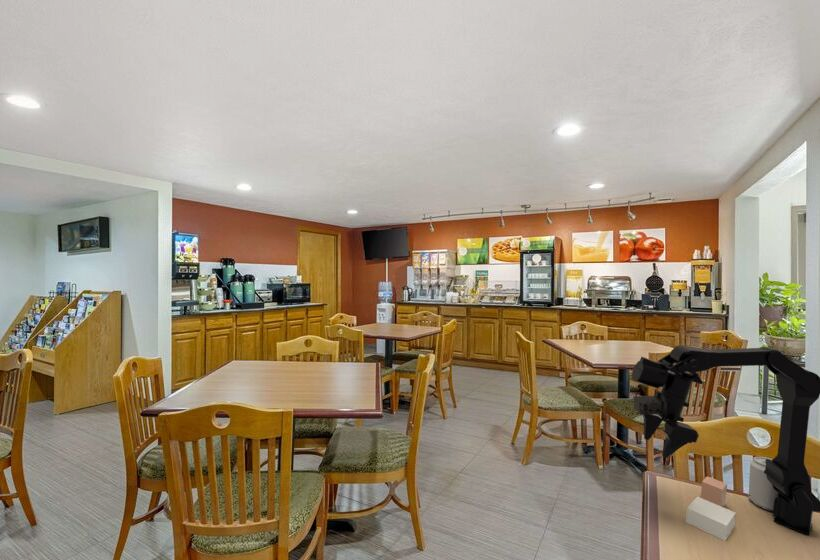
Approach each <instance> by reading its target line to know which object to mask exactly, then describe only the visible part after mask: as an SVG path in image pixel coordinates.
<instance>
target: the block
mask: <svg viewBox="0 0 820 560" xmlns="http://www.w3.org/2000/svg"><path fill="white" fill-rule="evenodd" d="M727 490H728V483H725V482H724V481H721V480H717V479H715V478H713V477H710V476H706V477H705V478H704V479H703V480H702V481H701V490H700V498H702V499H704V500H707V501H709V502H711V503H714V504H716V505H719V506H721V507H723V508H725V506H726V500H727V499H726V498H727Z"/></svg>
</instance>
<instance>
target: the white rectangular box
mask: <svg viewBox="0 0 820 560" xmlns="http://www.w3.org/2000/svg"><path fill="white" fill-rule="evenodd" d="M685 515H686V516H685V523H686V524H688V525H691V526H693V527H695V528H697V529H700V530H702V531H704V532H706V533H708V534H710V535H711V536H714V537H716V538H718V539H720V540H722V541H726V540H727V538H728V537H729V536H730V534H731V533H732V531H734V528H735V524H736V523H735V522H736V515H737V513H736V512H735V511H732V510H730V509H728V508H726V507H721V506H719V505H716V504H714V503H711V502H709V501H707V500H704V499H702V498H701V496H700V497H699V496H696V498H694V499H693V500H692V502H691V503H690V504H689V505H688V506H687V508H686V514H685Z"/></svg>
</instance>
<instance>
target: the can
mask: <svg viewBox="0 0 820 560" xmlns="http://www.w3.org/2000/svg"><path fill="white" fill-rule="evenodd" d="M766 459H770V460H773V459H774V458H769V457H765V456H754V457H753V460H751V461H750V463H749V480H748V498H749V500H750V501H753V502H752V503H753V504H754V505H756V506H757V507H758V508H759V507H760V508H761V507H762V509H764V510H767V511H770V512H773V507H774V500H775V498H776V497H778V495H779V493H778V492H777V491H776V490H774V488H773V486H772V484H771V483H770V482H769V480H768V479H767V475H766V474H765V473H764V470H765V468H766V462H765V461H766ZM749 495H751V496H749ZM767 499H769V500H767Z"/></svg>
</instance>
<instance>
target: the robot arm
mask: <svg viewBox="0 0 820 560" xmlns="http://www.w3.org/2000/svg"><path fill="white" fill-rule="evenodd" d="M746 366H747V367H749V366H753V367H755V366H759V367H760V366H765V368H766V369H767V370H769V372H771V373H772V374H774V375H775V381H776V388H777V391H778V393H779V395H780V397H781V400H782V407H781V416H780V426H779V435H778V436H779V437H778V446H777V454H776V456H775V457H774V458H772V459H773V460H770V459H771V458H770V459H766V461H765V462H766V468H765V470H764V473H765V474H766V475H767V479H768V480H769V482H770V483H771V484H772V486H773V488H774V490H776V491H777V492H778V493H779V495H778V497H776V498H775V500H774V507H773V511H772V516H773V517H774V518H773V522H775V523H776V524H779V525H782V526H784V527H786V528H789V529H792V530H794V531H796V532H799V533H802V534H803V535H806V536H810V534H811V531H812V528H813V513H814V512H816V513H820V499H819V498H818V497H817V496H816V495H815V494H814V493H813V491H812V480H811V476H810V474H809V471H808V469H807V466H806V465H805V459H806V458H805V457H806V456H805V455H806V446H807V438H808V429H809V428H808V427H809V418H810V408H811V406H812V405H813V404H814V403H815V402H816V401H817V400H819V399H820V376H819V375H818V374H817V373H815V372H813V371H810V370H807V369H805V368H804V367H802V366H801V365H799V364H797V363H796V362H794V361H793V360H791V359H790V358H788V357H787V356H785V355H784V354H783V353H782V352H781V351H779V350H777V349H775V348H771V347H768V346H761V347H753V348H752V347H750V348H749V347H747V348H746V347H745V348H742V347H741V348H719V349H718V348H715V349H713V348H711V349H710V348H703V347H698V346H691V345H690V346H689V345H675V346H674V347H673V349H671V351H670V353H668V354H667V355H665V356H663V357H662V358H660V359H659V360H657V361H655V360H652V359H649V358H647V357H645V356H641V357H640V360H638V361H637V362H636V363H635V365H634V366H633V368H632V372H631V378H632V381H633V382H636V383H639V384H642V385H644V386H649V387H652V388H655V389H659V388H661V391H659V390H656V391H655V392H654V395H636V396H633V398H632V399H633V400H632V401H633V410H636V411H637V412H638V414H639V415H641V416H642V417H643V439H644V440H646V441H649V440H650V439H651V438H652V437H653V436H654V434H655V432H656V431H657V429H659V427H660V425H662V422H664V423H665V424H664V429H662V432H663V434H664V436H665V439H664V443H663V449H662V455H661V456H662V457H663V458H664V459H667V458H669V457H670V456H671V455H673V454H674V453H675V452H677V451H678V450H680V449H681V448H682V447H684V446H685V445H688V444H692V443H695V444H696V443H697V441H698V439H699V436H700V434H699V433H698V431H697V430H696V429H695V428H693V427H692V426H691V425H689V424H688V423H684V419H685V418H684V417H683V416H681V415H682V413H683V410H684V408H689V406H690V403H689V402H688V401H687V399H688V395H689V393H690V391H691V389H692V386H693V383H695V384H700V385H703V384H704V382H703V380H702V378H700V376H699V373H700V372H704V371H709V370H711V369H714V368H718V367H746Z"/></svg>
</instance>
